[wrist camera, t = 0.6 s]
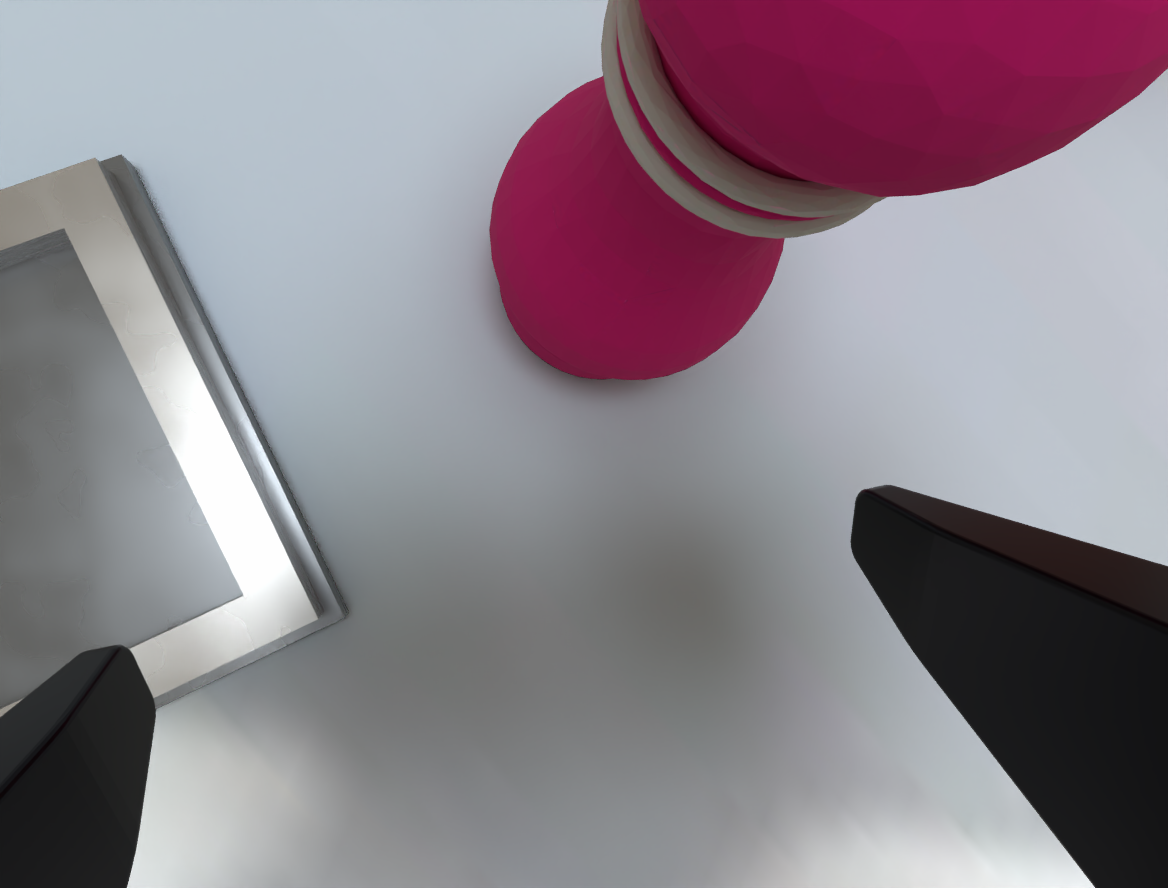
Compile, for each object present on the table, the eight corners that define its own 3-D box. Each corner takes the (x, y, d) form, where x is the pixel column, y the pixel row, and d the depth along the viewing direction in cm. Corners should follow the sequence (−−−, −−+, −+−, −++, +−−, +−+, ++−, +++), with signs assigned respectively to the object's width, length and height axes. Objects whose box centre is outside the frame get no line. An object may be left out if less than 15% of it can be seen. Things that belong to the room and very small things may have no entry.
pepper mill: (436, 309, 22) (305, -1212, 2) (563, 121, 23) (1333, -2206, 3) (632, 439, 23) (1825, 270, 3) (746, 254, 24) (2238, -804, 4)
